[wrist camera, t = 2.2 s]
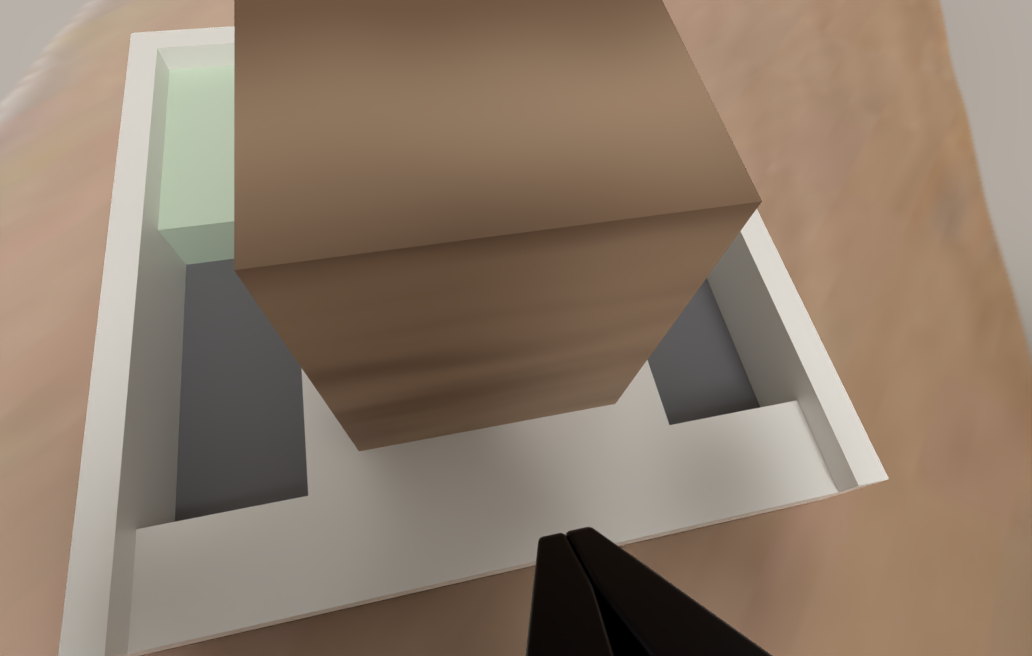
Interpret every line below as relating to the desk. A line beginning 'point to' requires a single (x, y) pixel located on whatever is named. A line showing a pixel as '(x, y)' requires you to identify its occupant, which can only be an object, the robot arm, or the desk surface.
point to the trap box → (391, 469)
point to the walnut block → (474, 201)
